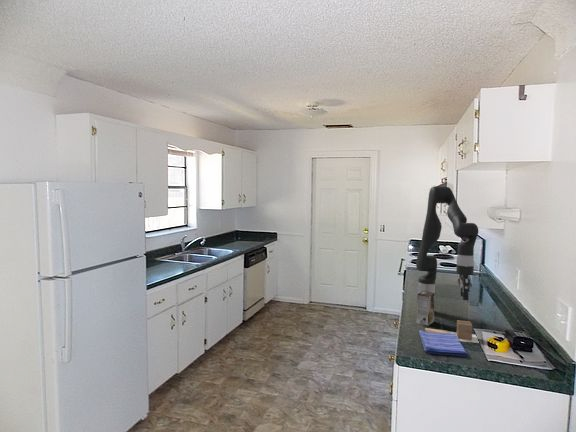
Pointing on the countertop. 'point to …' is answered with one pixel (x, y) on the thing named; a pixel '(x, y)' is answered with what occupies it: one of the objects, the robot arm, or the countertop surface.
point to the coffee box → (425, 308)
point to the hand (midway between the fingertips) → (464, 298)
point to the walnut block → (464, 330)
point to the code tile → (474, 339)
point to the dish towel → (442, 344)
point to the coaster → (436, 330)
